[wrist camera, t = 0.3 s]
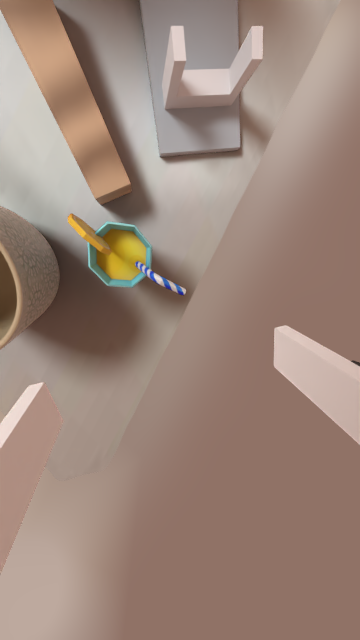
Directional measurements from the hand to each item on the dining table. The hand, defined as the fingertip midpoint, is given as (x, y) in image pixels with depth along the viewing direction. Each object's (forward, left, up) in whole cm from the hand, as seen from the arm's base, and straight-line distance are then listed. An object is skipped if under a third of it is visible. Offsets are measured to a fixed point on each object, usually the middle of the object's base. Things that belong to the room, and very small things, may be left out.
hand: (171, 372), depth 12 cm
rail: (-23, -5, -27) cm, 36 cm away
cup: (-5, -2, -27) cm, 28 cm away
